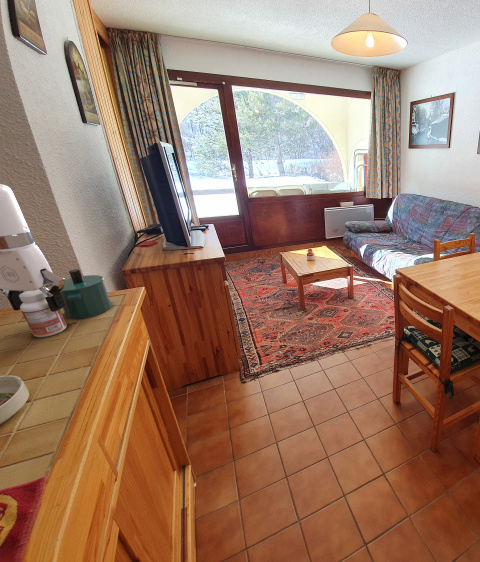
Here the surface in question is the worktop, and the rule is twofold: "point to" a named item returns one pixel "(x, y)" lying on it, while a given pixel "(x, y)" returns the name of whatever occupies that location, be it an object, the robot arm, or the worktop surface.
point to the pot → (86, 302)
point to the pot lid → (80, 281)
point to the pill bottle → (40, 314)
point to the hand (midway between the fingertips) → (40, 308)
